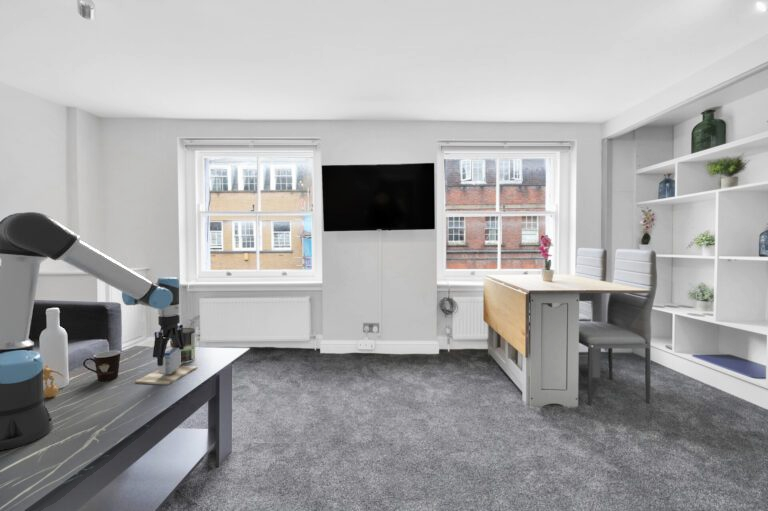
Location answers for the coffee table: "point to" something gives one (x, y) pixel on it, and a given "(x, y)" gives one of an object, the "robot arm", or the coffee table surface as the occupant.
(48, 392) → the figurine
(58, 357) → the bottle
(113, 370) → the coffee mug
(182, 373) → the birch board
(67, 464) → the coffee table surface
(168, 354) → the medicine box
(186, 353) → the coffee can
